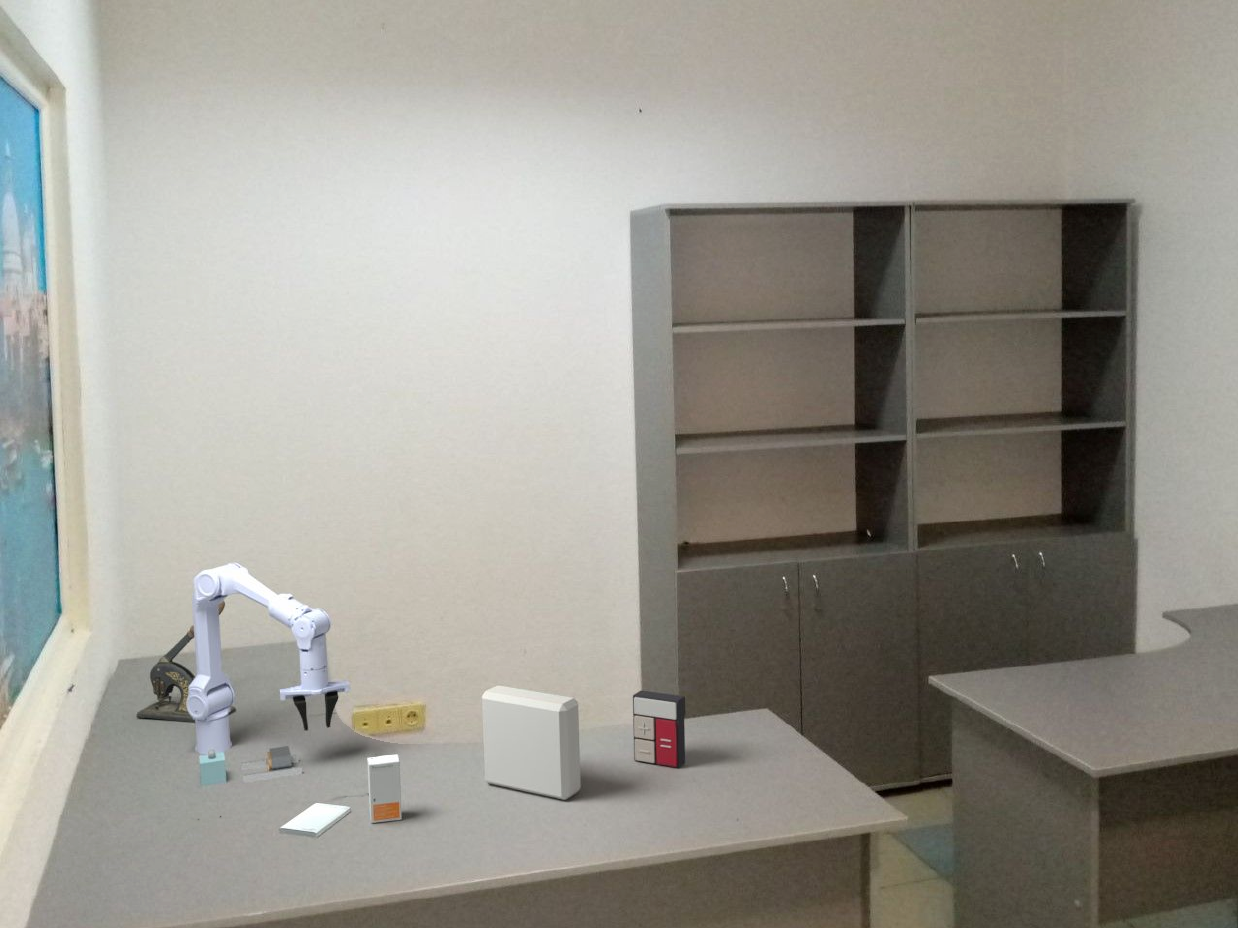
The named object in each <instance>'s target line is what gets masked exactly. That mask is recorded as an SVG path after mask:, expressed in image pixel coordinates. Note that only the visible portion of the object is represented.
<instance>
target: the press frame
mask: <svg viewBox="0 0 1238 928" xmlns="http://www.w3.org/2000/svg"><path fill="white" fill-rule="evenodd" d="M292 763H299V754H297V753H296V754H291V764H292ZM259 768H268V766H267V758H263V759H257V760H250V761H249V760H248V761H244V762H243V761H242V762H240V770H241V771H245V770H252V769H259ZM297 775H303V766H302V765H299V766H292V767H291V768H284V769H278V770H271V771H269V770H266V771H259V772H258V771H257V772H252V773H251V772H250V773H245V774H242V782H243V783H250V782H257V781H264V780H270V779H276V778H283V777H284V778H285V777H289V776H297Z"/></svg>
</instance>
